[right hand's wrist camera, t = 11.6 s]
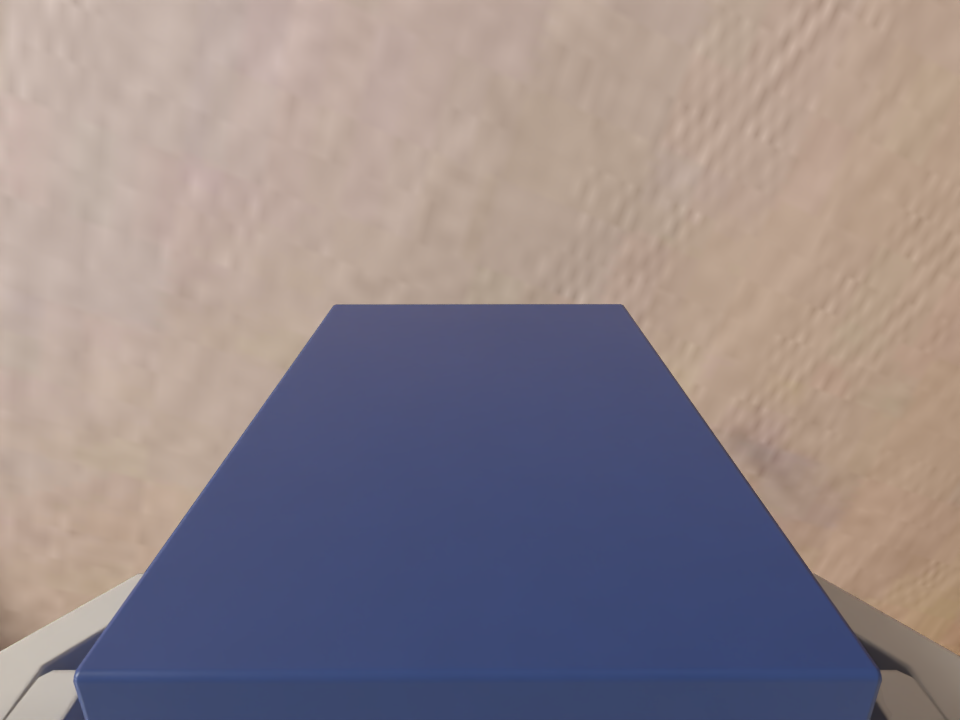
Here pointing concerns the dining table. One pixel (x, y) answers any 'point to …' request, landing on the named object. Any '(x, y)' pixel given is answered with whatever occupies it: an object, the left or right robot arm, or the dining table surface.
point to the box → (478, 545)
